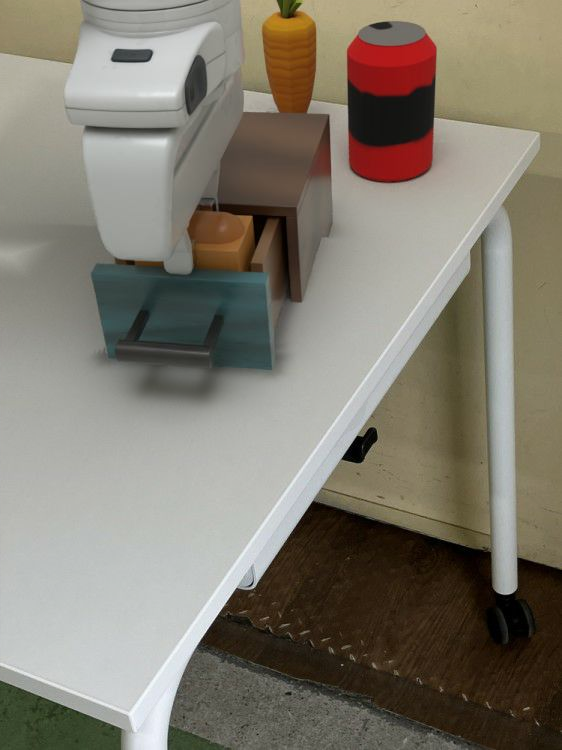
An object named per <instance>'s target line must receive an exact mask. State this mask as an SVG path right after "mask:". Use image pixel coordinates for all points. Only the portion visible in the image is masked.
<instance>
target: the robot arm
mask: <svg viewBox="0 0 562 750" xmlns="http://www.w3.org/2000/svg"><path fill="white" fill-rule="evenodd" d="M79 4H80V10H81V14H82V21H81V22H80V26H79V33H78V34H79V36H78V43H77V49H76V53H75V57H74V60H73V62H72V66H71V68H70V71H69V74H68V76H67V79H66V82H65V84H64V88H63V103H64V109H65V113H66V116H67V120H68V122H69V123H70V124H72V125H74V126H75V125H76V126H84V127H83V131H82V135H81V156H82V165H83V170H84V175H85V179H86V180H85V181H86V184H87V189H88V194H89V197H90V202H91V206H92V210H93V214H94V218H95V222H96V226H97V229H98V233H99V237H100V239H101V243H102V244H103V246H104V248H105V249H106V250H107V251H108V253H110V254H111V255H112V257H113V258H114V257H115V258H117V259H122V260H135V261H163V262H164V268H165V270H166V271H167V272H168V273H170V274H177V275H189V274H190V273H191V272H192V270H193V267H194V265H195V263H196V261H197V253H196V243H195V239H190V238H189V235H188V231H187V228H188V226H189V221H190V219H191V217H192V215H193V213H194V211H213V212H219V207H218V197H217V193H218V184H219V174H220V160H221V158H222V156H223V154H224V152H225V150H226V148H227V146H228V144H229V142H230V140H231V138H232V136H233V134H234V132H235V130H236V128H237V126H238V124H239V123H240V121H241V119H242V116H243V112H244V107H245V92H244V91H245V90H244V82H243V75H242V68H241V67H242V66H243V65H244V62H245V58H246V53H245V41H244V30H243V19H242V18H243V17H242V6H241V0H79Z"/></svg>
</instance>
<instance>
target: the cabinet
mask: <svg viewBox="0 0 562 750" xmlns="http://www.w3.org/2000/svg"><path fill="white" fill-rule="evenodd" d="M330 117H331V115H330V113H308V112H307V113H279V112H267V111H262V112H261V111H243V116H242V119H241V121H240V123H239V124H238V126H237V128H236V130H235V132H234V134H233V136H232V138H231V140H230V142H229V144H228V146H227V148H226V150H225V152H224V154H223V156H222V158H221V160H220V174H219V184H218V193H217V197H218V207H219V212H227V213H230V214H246V215H268V216H286V228H287V244H288V260H289V276H290V285H289V292H290V302H291V303H303V301H304V298H305V294H306V290H307V287H308V284H309V281H310V277H311V274H312V272H313V268H314V264H315V261H316V258H317V254H318V251H319V247H320V244H321V241H322V238H329V235H330V233H331V228H332V224H333V222H334V220H333V219H334V217H333V183H332V181H333V180H332V152H331V151H332V148H331V147H332V146H331V118H330Z"/></svg>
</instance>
